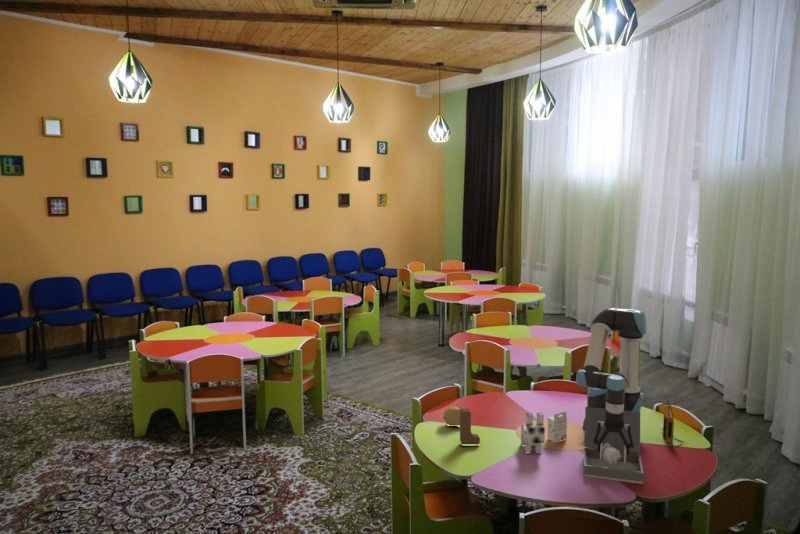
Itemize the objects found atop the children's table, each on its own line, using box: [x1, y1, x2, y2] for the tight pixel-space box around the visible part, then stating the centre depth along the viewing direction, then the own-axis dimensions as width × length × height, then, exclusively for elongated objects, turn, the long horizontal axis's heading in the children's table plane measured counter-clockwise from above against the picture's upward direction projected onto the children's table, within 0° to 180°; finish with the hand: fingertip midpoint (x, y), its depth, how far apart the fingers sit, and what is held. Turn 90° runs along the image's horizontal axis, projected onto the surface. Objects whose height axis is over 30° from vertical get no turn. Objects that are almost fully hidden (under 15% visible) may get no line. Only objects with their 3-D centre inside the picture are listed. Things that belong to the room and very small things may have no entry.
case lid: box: [583, 406, 641, 454], centre depth 271 cm, size 24×18×2 cm
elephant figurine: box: [602, 443, 623, 464], centre depth 258 cm, size 8×10×7 cm
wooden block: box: [459, 408, 481, 444], centre depth 286 cm, size 9×4×18 cm, turn 97°
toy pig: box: [442, 405, 461, 425], centre depth 309 cm, size 10×12×11 cm
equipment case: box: [583, 447, 645, 485], centre depth 259 cm, size 24×18×5 cm
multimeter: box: [661, 399, 687, 448], centre depth 288 cm, size 15×10×20 cm
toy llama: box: [520, 412, 546, 453], centre depth 280 cm, size 8×18×20 cm, turn 1°
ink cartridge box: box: [547, 411, 568, 443], centre depth 291 cm, size 9×5×15 cm, turn 117°
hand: (612, 459), depth 259 cm, fingers closed on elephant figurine, 9 cm apart
